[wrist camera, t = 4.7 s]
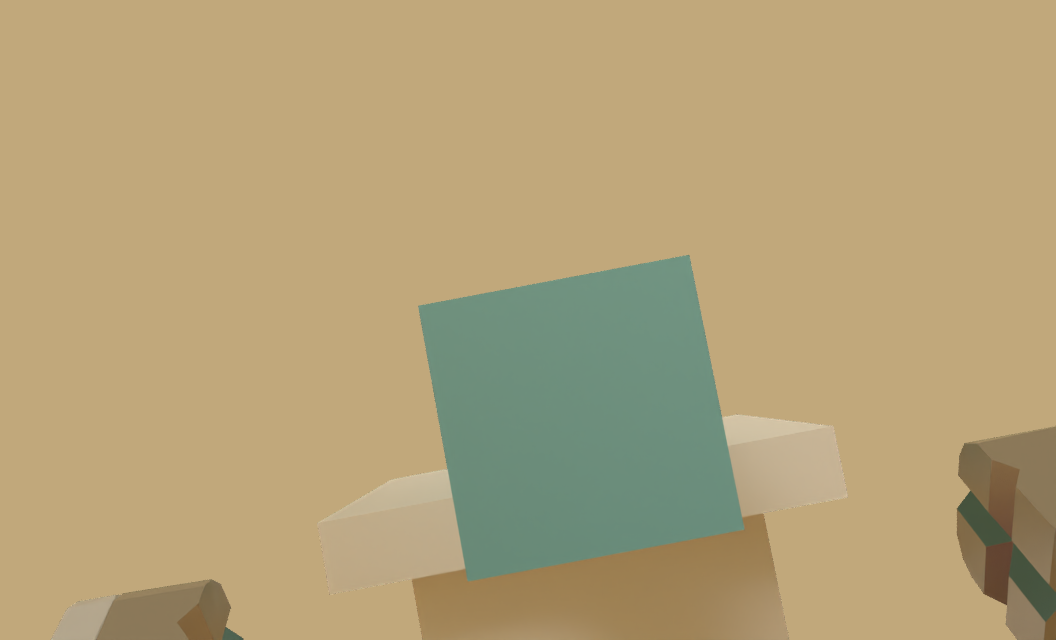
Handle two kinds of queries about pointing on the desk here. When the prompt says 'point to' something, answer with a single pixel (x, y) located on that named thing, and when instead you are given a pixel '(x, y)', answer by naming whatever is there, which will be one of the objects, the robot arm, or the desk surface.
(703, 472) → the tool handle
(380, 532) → the stand
